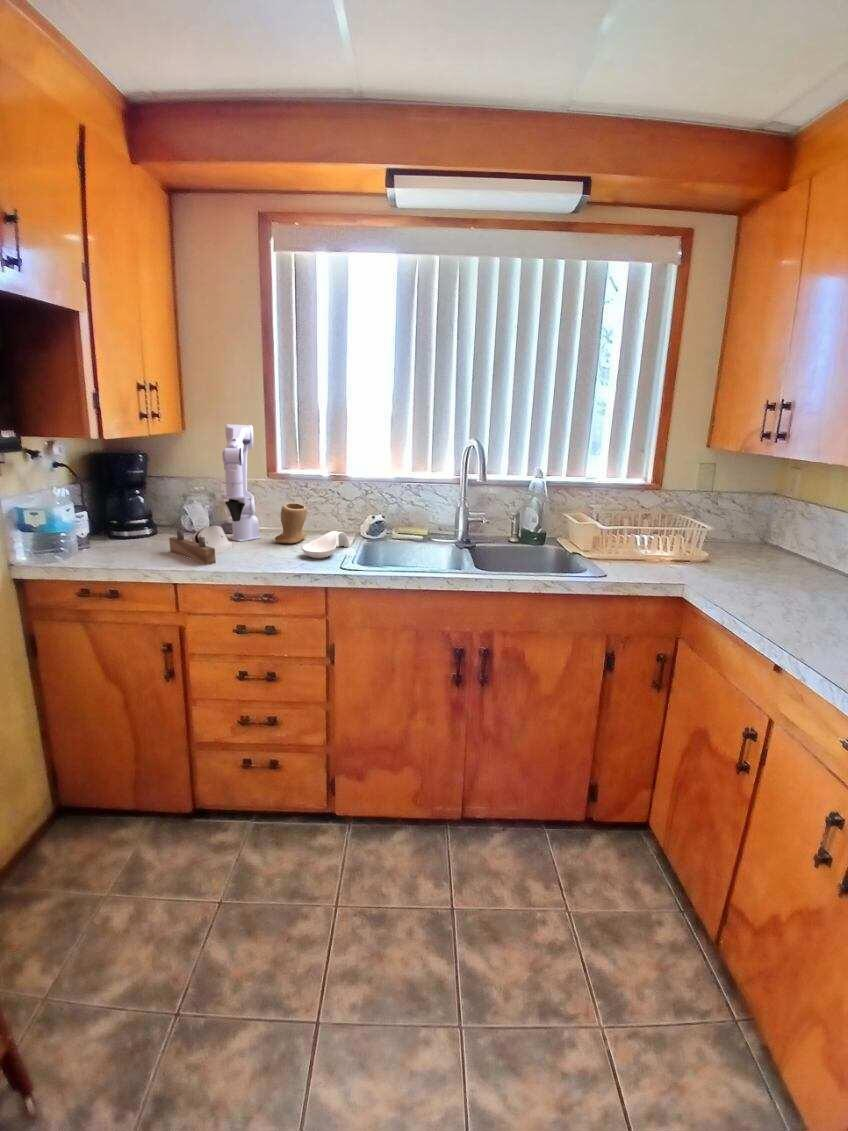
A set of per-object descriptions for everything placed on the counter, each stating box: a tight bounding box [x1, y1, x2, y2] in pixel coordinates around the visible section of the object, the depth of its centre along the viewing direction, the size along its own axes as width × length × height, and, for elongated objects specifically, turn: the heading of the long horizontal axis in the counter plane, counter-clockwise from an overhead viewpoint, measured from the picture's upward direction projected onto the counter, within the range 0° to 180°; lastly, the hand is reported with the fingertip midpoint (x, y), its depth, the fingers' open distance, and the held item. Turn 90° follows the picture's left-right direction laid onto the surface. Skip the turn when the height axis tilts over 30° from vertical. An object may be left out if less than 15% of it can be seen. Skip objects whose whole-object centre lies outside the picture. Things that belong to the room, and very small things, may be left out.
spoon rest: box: [301, 530, 351, 559], centre depth 203 cm, size 24×12×7 cm, turn 159°
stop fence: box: [168, 530, 217, 565], centre depth 190 cm, size 3×24×8 cm, turn 50°
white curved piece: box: [191, 525, 234, 556], centre depth 199 cm, size 17×5×10 cm, turn 172°
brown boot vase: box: [274, 502, 308, 544], centre depth 218 cm, size 15×12×15 cm
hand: (236, 520), depth 201 cm, fingers closed
